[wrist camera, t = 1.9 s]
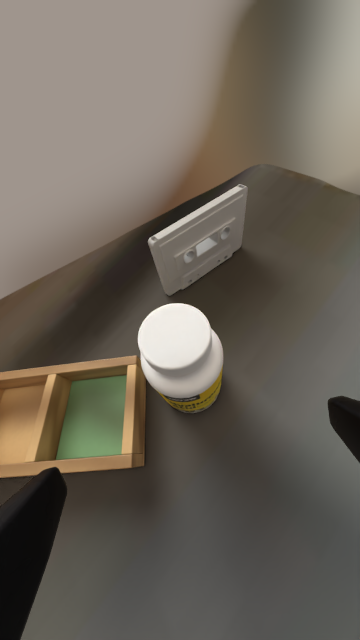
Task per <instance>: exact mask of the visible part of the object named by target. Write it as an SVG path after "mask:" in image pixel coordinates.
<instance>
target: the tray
mask: <svg viewBox="0 0 360 640" xmlns="http://www.w3.org/2000/svg"><path fill="white" fill-rule="evenodd" d="M145 409H146V377H145V375H144V372H143V370H142V366H141V360H140V359H139V358H138V356H128V357H120V358H112V359H104V360H96V361H88V362H80V363H72V364H64V365H56V366H48V367H40V368H32V369H24V370H16V371H8V372H0V478H7V477H20V476H33V475H38V474H39V473H40V472H41V471H42V470H44V469H48V468H52V467H57V468H59V470H60V472H61V473H73V472H87V471H100V470H113V469H127V468H135V467H140V466H144V459H145Z"/></svg>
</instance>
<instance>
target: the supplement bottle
mask: <svg viewBox="0 0 360 640" xmlns="http://www.w3.org/2000/svg"><path fill="white" fill-rule="evenodd" d="M138 346H139V349H140V352H141V366H142V370H143V372H144V375H145V377H146V379H147V380H148V382H149V383H150V385H151V386H152V387H153V388H154V389H155V390H156V391H157V392H158V393H159V394H160V395H161V396H162V397H163V398H164V399H165V400H166V401H167V402H168V403H169V404H170V405H171V406H172V407H173V408H175V409H177V410H179V411H181V412H185V413H196V412H200V411H203V410H205V409H207V408H208V407H209V406H211V405H212V404H213V402H214V401H215V400H216V398H217V396H218V394H219V391H220V387H221V379H222V368H223V349H222V345H221V342H220V340H219V338H218V336H217V335H216V333H215V332H214V331H213V330H212V329H211V327H210V324H209V321H208V320H207V318H206V317H205V315H204V314H203V313H202V312H201V311H200V310H198V309H197V308H195V307H193V306H190V305H187V304H181V303H175V304H168V305H165V306H162V307H160V308H158V309H156V310H154V311H153V312H152V313H150V314H149V315H148V316H147V317H146V319H145V320H144V321H143V323H142V325H141V327H140V329H139V333H138Z"/></svg>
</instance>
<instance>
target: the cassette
mask: <svg viewBox="0 0 360 640" xmlns="http://www.w3.org/2000/svg"><path fill="white" fill-rule="evenodd" d="M247 191H248V188H247V187H246V186H244V185H241V184H239V185H238V186H236V187H234V188H233V189H231V190H229V191H228V192H226V193H224V194H223V195H221V196H219V197H218V198H216V199H214V200H213V201H211V202H209V203H208V204H206V205H204V206H203V207H201V208H199V209H198V210H196V211H194V212H193V213H191V214H189V215H188V216H186V217H184V218H183V219H181V220H179V221H178V222H176V223H174V224H173V225H171V226H169V227H167V228H166V229H164V230H162V231H161V232H159V233H157V234H156V235H154V236H152V237H151V238H149V240H148V244H149V247H150V250H151V253H152V256H153V259H154V262H155V265H156V268H157V271H158V274H159V277H160V280H161V283H162V286H163V289H164V291H165V293H166V294H167V295H169V296H170V295H172V294H174V293H175V292H177V291H178V290H180V289H182V290H183V289H185V288H186V287H188V286H189V285H191V284H192V283H193V282H195V281H196V280H198V279H199V278H201V277H202V276H204V275H205V274H206V273H208V272H209V271H211V270H212V269H214V268H215V267H217V266H218V265H219V264H221V263H222V262H224V261H225V260H227V259H228V258H230V257H231V256H233V255H232V253H233V252H235V251H236V250H238V249H239V248H240V247H241V243H242V234H243V226H244V217H245V208H246V199H247Z"/></svg>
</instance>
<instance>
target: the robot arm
mask: <svg viewBox="0 0 360 640" xmlns="http://www.w3.org/2000/svg"><path fill="white" fill-rule="evenodd" d="M328 410H329V418H330V423H331V425H332V427H333V429H334V430H335V431H336V433H337V434H338V435H339V437H340V438H341V439H342V441H343V442H344V443H345V444H346V446H347V447H348V448H349V450H350V451H351V452H352V454H353V455H354V456H355V457H356V459H357V460H358V461H359V463H360V401H357V400H354V399H351V398H348V397H344V396H338V397H334V398H330V399H329V400H328ZM66 495H67V485H66V483H65V481H64V479H63V476H62V474H61V472H60V470H59V468H57V467H52V468H48V469H44V470H42V471H41V472H40V473H39V474H38V475H36V476H35V477H34V478H33V479H32V480H31V481H29V482H28V483H27V484H26V485H25V486H24V487H23V488H21V489H20V490H19V491H18V492H17V493H16V494H14V495H13V496H12V497H11V498H10V499H9V500H7V501H6V502H5V503H4V504H3V505H2V506H1V507H0V640H20V639H21V636H22V633H23V631H24V628H25V625H26V622H27V619H28V616H29V614H30V611H31V608H32V605H33V602H34V599H35V597H36V594H37V591H38V588H39V585H40V582H41V580H42V577H43V574H44V571H45V568H46V565H47V562H48V559H49V556H50V553H51V549H52V546H53V542H54V539H55V535H56V531H57V528H58V524H59V521H60V517H61V513H62V510H63V506H64V502H65V499H66Z"/></svg>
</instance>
